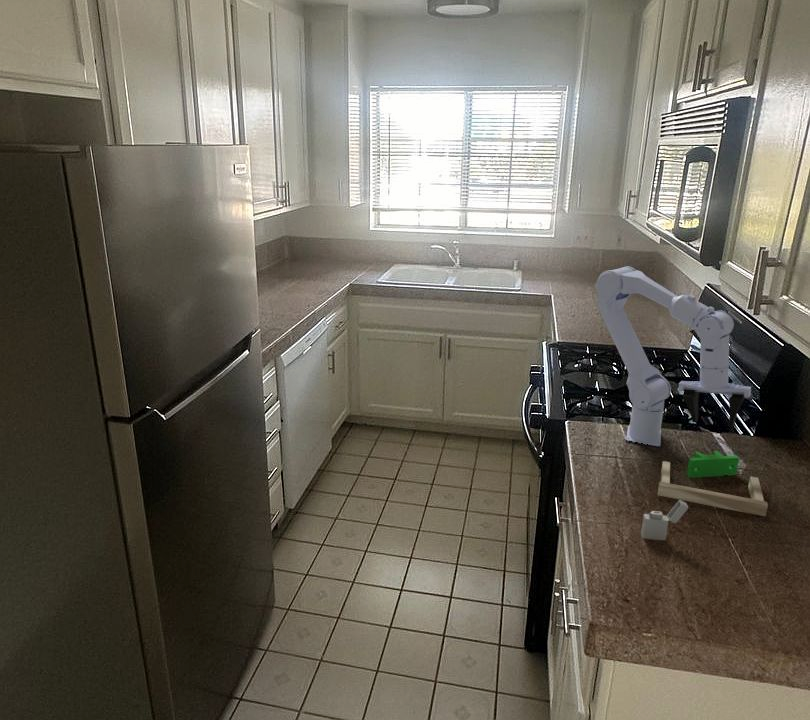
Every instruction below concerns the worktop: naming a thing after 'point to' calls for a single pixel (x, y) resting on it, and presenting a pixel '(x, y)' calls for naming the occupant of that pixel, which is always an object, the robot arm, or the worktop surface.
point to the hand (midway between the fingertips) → (713, 423)
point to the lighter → (661, 521)
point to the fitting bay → (714, 495)
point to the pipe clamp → (712, 465)
